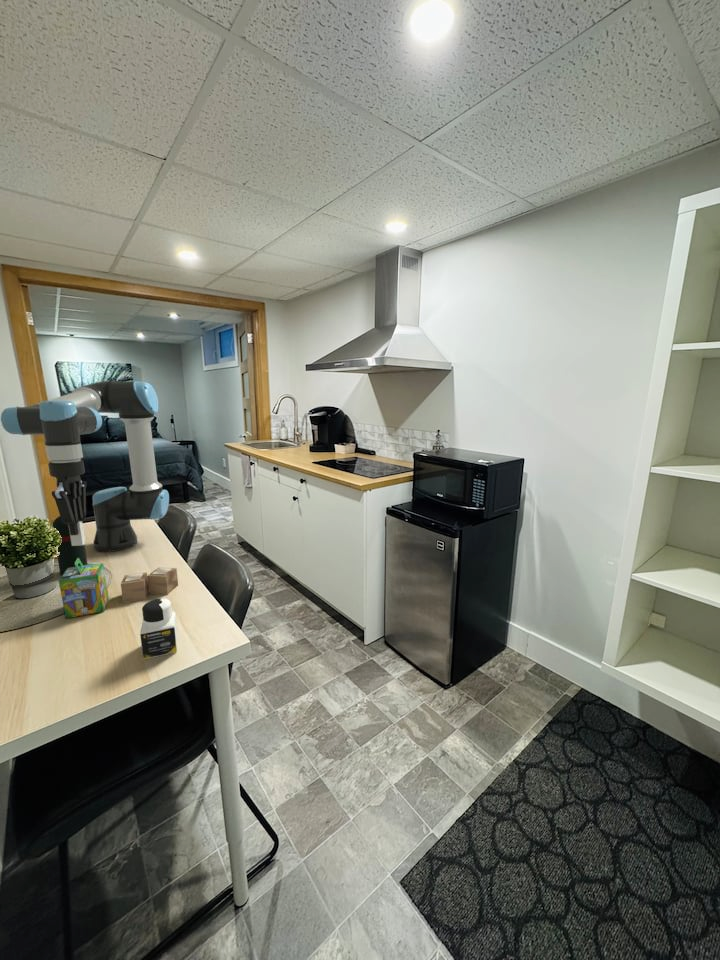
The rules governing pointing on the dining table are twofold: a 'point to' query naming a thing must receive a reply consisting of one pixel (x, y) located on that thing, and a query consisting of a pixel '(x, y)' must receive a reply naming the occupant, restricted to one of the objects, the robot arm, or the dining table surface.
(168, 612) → the medicine bottle
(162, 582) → the walnut block
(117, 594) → the dining table surface
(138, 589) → the walnut block
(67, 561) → the wine bottle
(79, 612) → the chalk box
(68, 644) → the dining table surface
